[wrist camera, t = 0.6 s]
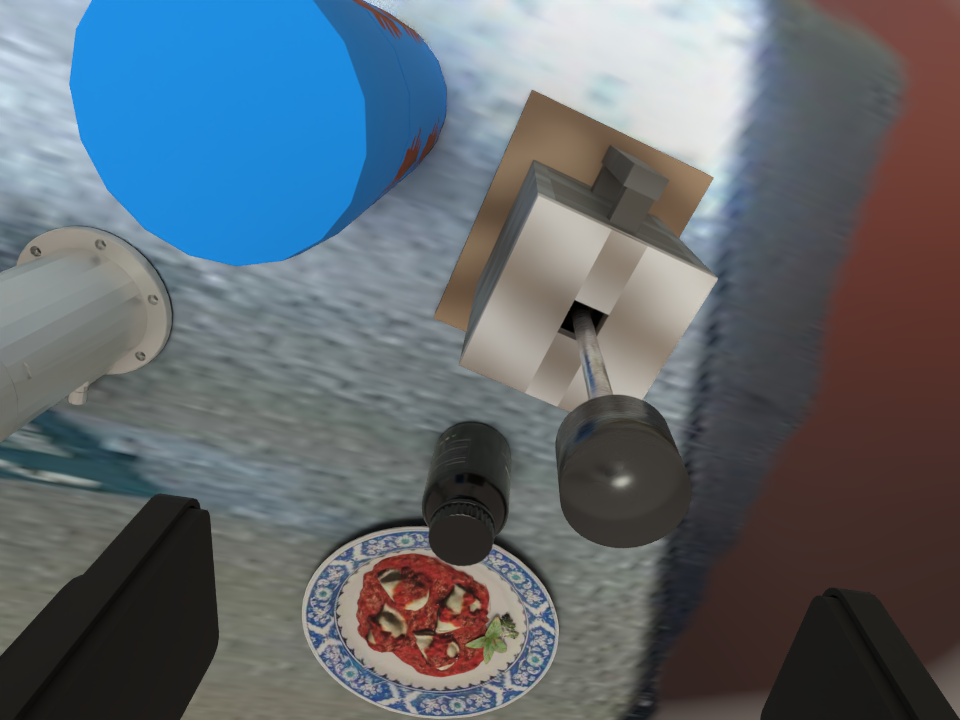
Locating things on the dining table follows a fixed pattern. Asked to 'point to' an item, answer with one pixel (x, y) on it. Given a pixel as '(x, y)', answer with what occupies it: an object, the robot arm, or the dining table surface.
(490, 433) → the supplement bottle
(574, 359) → the stand
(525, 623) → the ceramic plate
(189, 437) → the dining table surface
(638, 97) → the dining table surface
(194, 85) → the thermos
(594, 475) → the grey rod with knob
